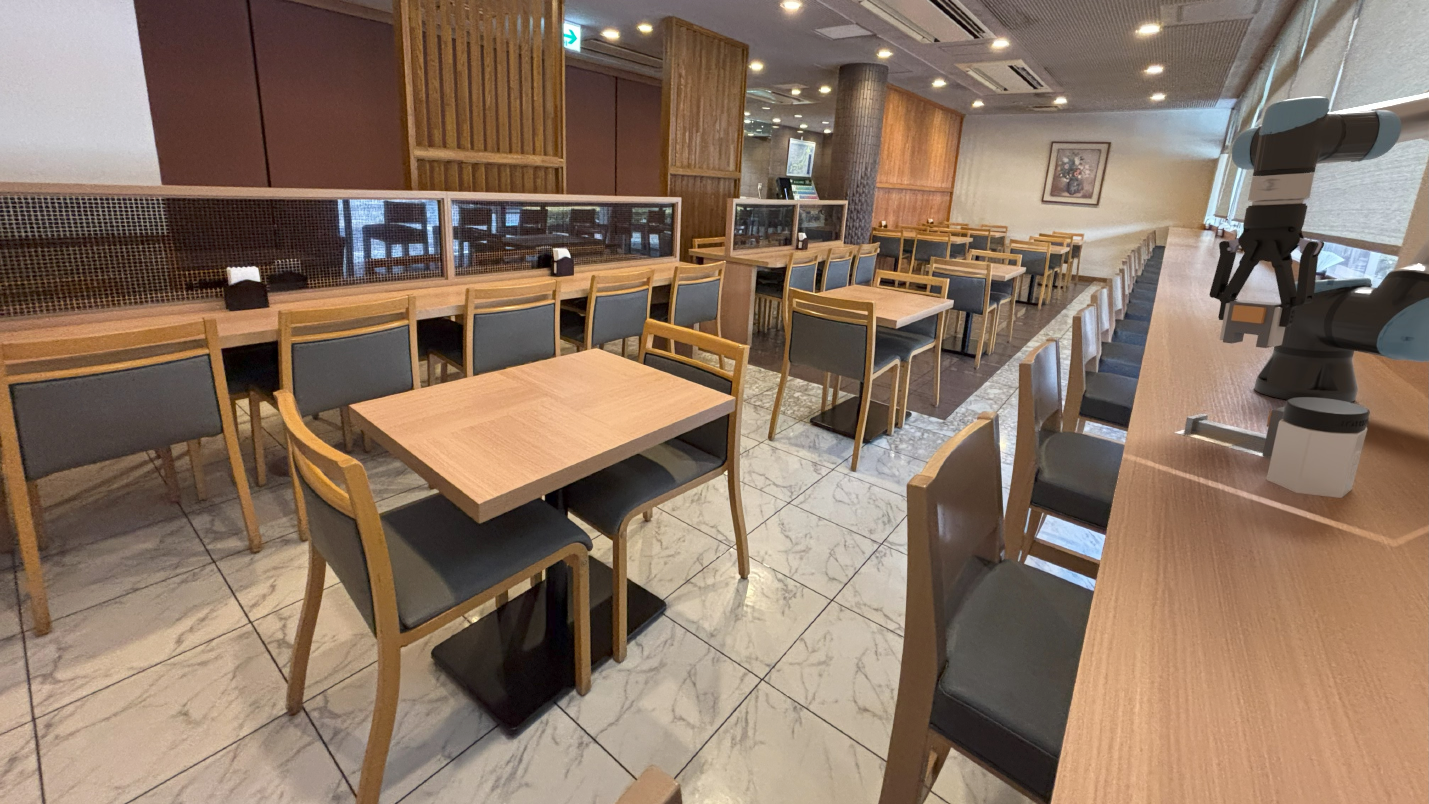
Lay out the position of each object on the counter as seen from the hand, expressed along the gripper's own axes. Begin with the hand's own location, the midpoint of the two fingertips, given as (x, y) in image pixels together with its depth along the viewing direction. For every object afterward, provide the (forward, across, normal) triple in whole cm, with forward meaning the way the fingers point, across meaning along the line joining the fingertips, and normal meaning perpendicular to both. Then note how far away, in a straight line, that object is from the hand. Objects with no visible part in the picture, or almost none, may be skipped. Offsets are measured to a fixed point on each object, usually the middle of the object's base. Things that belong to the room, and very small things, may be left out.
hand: (1249, 342), depth 108 cm
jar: (+15, +20, -21) cm, 33 cm away
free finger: (0, 0, 0) cm, 0 cm away
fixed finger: (+14, +13, -11) cm, 22 cm away
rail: (+15, +9, -11) cm, 20 cm away
